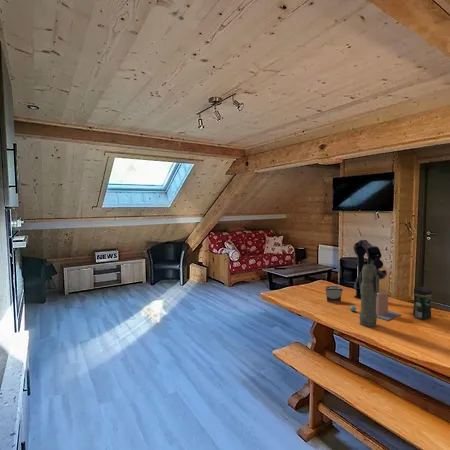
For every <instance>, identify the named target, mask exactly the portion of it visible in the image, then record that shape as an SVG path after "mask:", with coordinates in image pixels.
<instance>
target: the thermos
mask: <svg viewBox="0 0 450 450" xmlns="http://www.w3.org/2000/svg"><path fill="white" fill-rule="evenodd" d="M359 286H360V294H361V299H360V311H359V325H360V326H362V327H365V328H376V327H377V320H378V318H377V314H376V297H377V293H378V292H379V291H380V280H379V276H378V275H377V270H376V266H375V265H372V264H368V263H364V266H363V268H362V271H361V272H360V280H359Z"/></svg>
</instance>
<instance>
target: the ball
mask: <svg viewBox="0 0 450 450" xmlns="http://www.w3.org/2000/svg"><path fill="white" fill-rule="evenodd" d="M349 307H350V308H349V309H350V311H351V312H356V311H357V307H356V305H351V306H349Z"/></svg>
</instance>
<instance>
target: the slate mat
mask: <svg viewBox="0 0 450 450" xmlns="http://www.w3.org/2000/svg"><path fill="white" fill-rule="evenodd" d="M399 315H400V316H401V313H398V312H395V311H391V310H388V315H378V314H377V319H380V320H382V321H386V322H388V321H391V320H392V319H395V318H398V317H400V316H399ZM397 316H398V317H397Z"/></svg>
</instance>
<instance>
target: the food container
mask: <svg viewBox="0 0 450 450" xmlns="http://www.w3.org/2000/svg"><path fill="white" fill-rule="evenodd" d="M324 289H325V290H324V291H325V294H326V302H327V303H341V301H342V295H343V294H342V293H343V292H344V290H343V287H341V286H338V285H327V286H325V288H324Z"/></svg>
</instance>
